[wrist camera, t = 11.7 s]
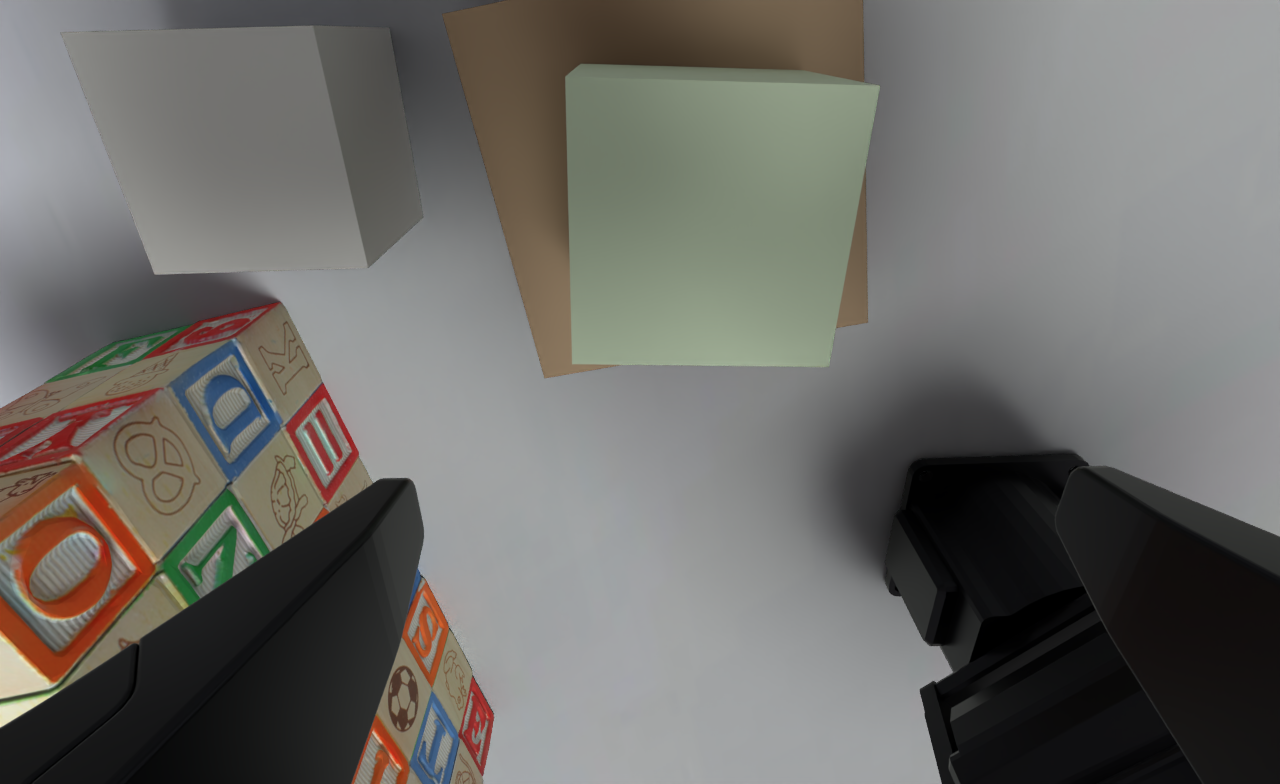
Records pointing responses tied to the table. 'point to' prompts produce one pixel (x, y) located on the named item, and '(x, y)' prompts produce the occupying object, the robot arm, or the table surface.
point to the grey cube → (254, 143)
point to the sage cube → (711, 212)
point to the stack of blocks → (197, 521)
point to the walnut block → (618, 35)
